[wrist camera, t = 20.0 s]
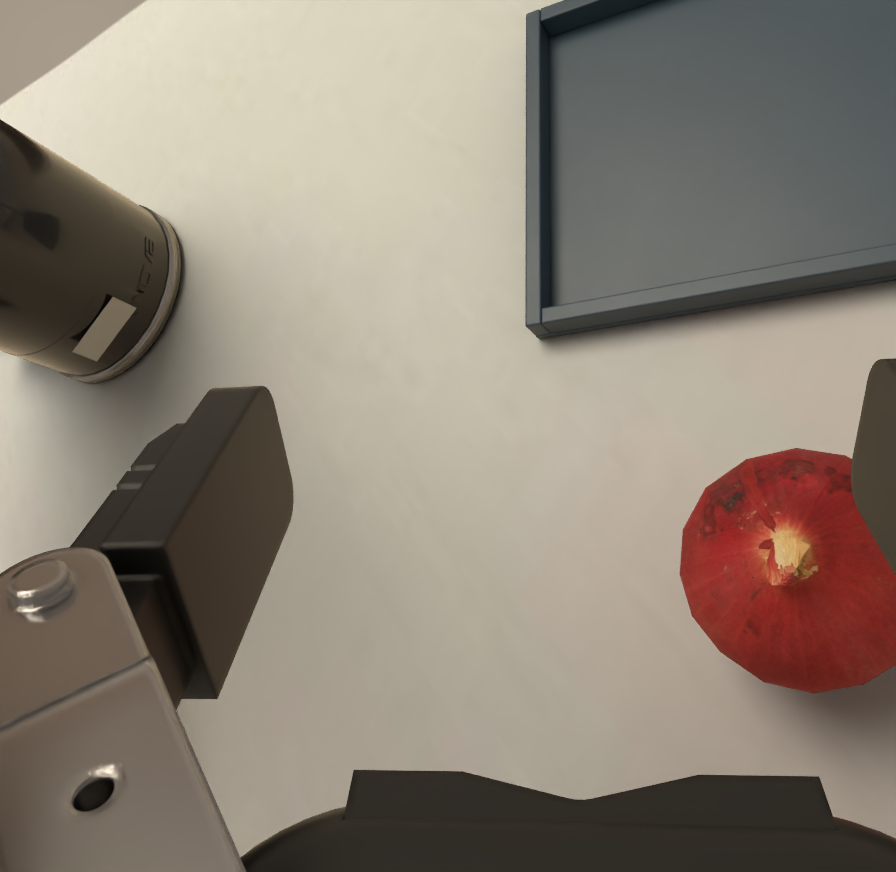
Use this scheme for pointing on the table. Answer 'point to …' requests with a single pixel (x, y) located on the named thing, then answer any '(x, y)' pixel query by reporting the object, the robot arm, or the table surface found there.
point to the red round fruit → (791, 573)
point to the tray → (705, 155)
